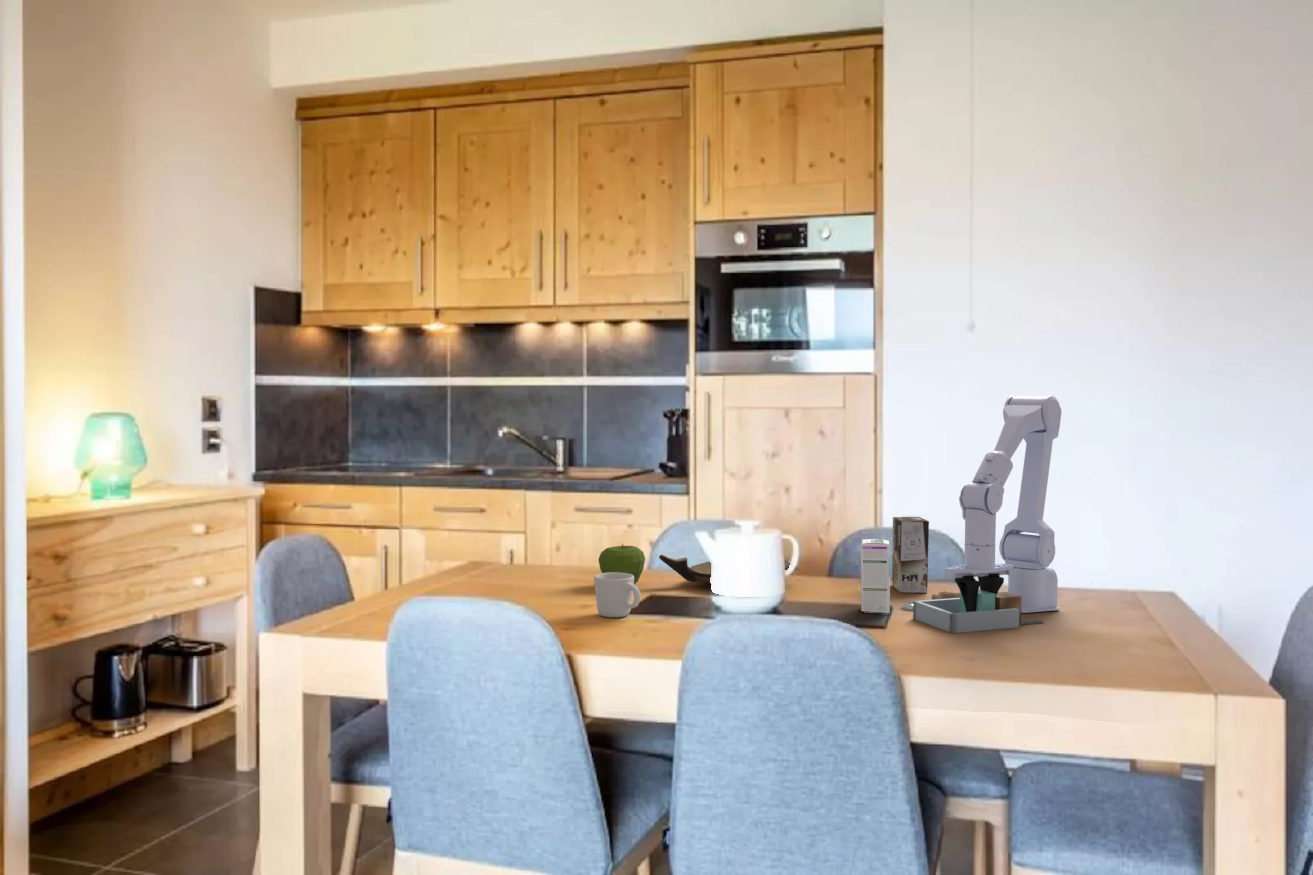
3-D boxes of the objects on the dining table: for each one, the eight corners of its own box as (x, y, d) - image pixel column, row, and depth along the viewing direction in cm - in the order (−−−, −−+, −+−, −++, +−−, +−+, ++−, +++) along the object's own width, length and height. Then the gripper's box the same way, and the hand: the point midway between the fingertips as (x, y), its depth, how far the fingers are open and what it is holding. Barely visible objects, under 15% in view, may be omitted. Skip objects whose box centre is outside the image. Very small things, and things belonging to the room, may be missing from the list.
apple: (624, 580, 250) (625, 538, 249) (655, 587, 242) (655, 543, 242) (588, 586, 242) (588, 543, 242) (618, 593, 235) (619, 548, 234)
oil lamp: (791, 597, 232) (791, 562, 232) (655, 592, 237) (655, 558, 237) (794, 579, 254) (795, 547, 254) (670, 574, 259) (670, 543, 259)
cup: (652, 617, 211) (652, 577, 210) (624, 624, 205) (624, 582, 205) (614, 609, 218) (614, 570, 218) (585, 615, 212) (585, 575, 212)
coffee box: (928, 593, 237) (929, 521, 236) (899, 593, 237) (900, 520, 236) (919, 585, 246) (920, 516, 245) (891, 585, 246) (892, 515, 245)
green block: (972, 617, 213) (972, 587, 212) (994, 624, 206) (995, 593, 206) (959, 618, 212) (960, 588, 211) (981, 625, 205) (982, 594, 205)
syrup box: (889, 615, 214) (890, 543, 214) (859, 613, 215) (860, 542, 215) (889, 609, 220) (890, 539, 219) (860, 607, 221) (861, 538, 220)
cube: (1004, 616, 213) (1004, 591, 213) (1020, 621, 209) (1021, 596, 208) (983, 618, 212) (984, 593, 211) (999, 623, 207) (1000, 597, 207)
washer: (915, 607, 224) (915, 601, 223) (927, 611, 219) (928, 605, 219) (897, 608, 222) (897, 602, 222) (909, 612, 218) (909, 606, 218)
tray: (976, 613, 216) (976, 596, 216) (1018, 627, 204) (1019, 609, 204) (913, 618, 211) (913, 601, 211) (952, 633, 199) (952, 614, 198)
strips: (1010, 612, 217) (1010, 610, 217) (1043, 623, 208) (1043, 620, 208) (985, 614, 215) (985, 612, 215) (1017, 625, 206) (1017, 623, 206)
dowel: (977, 599, 231) (977, 588, 231) (984, 601, 229) (984, 590, 229) (928, 603, 227) (929, 592, 227) (935, 605, 225) (935, 594, 225)
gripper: (997, 539, 214) (996, 606, 214) (936, 542, 209) (935, 611, 210) (1021, 544, 207) (1019, 613, 208) (957, 548, 202) (956, 619, 203)
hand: (978, 613), depth 208 cm, fingers closed on green block, 3 cm apart
